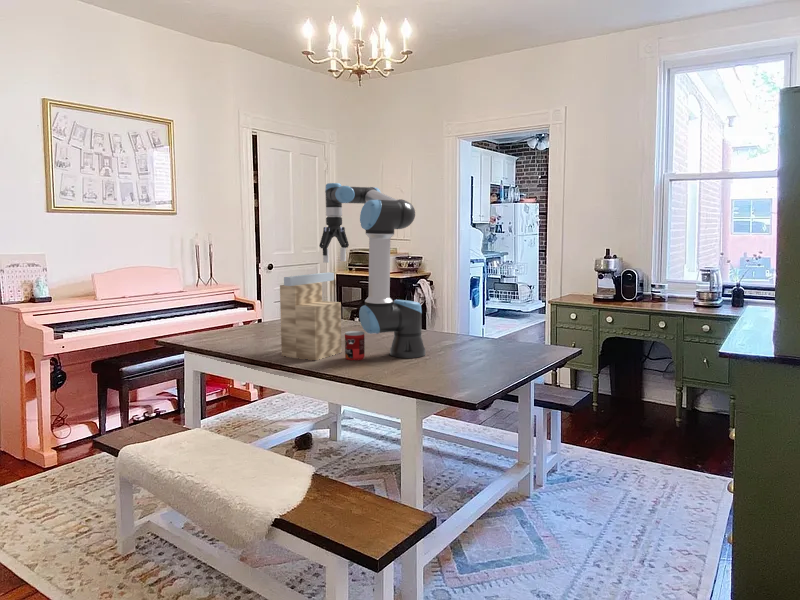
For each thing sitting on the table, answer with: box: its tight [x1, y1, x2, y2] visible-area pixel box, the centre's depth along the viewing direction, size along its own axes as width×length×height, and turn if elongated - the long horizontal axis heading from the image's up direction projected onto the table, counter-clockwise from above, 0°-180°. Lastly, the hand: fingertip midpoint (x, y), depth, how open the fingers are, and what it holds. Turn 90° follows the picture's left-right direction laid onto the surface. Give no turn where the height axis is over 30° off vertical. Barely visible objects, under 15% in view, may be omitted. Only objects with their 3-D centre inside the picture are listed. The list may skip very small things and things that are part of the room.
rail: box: [283, 272, 335, 286], centre depth 259 cm, size 30×4×4 cm, turn 150°
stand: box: [279, 282, 343, 361], centre depth 253 cm, size 18×18×30 cm
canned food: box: [344, 330, 366, 361], centre depth 246 cm, size 8×8×11 cm
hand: (334, 262), depth 284 cm, fingers open, 13 cm apart
